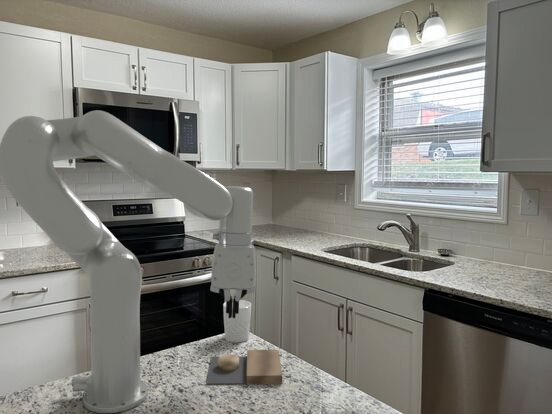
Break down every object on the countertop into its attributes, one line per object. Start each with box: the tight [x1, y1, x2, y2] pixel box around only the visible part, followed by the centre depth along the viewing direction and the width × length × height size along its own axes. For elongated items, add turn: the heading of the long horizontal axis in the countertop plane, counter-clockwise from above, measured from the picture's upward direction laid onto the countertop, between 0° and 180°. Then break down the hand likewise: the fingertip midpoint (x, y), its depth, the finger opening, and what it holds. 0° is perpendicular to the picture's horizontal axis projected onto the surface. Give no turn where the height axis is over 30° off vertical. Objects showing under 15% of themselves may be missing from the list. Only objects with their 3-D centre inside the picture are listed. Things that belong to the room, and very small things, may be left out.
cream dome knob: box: [218, 354, 239, 372], centre depth 104 cm, size 5×5×2 cm
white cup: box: [222, 299, 252, 343], centre depth 122 cm, size 8×8×10 cm
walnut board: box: [246, 349, 283, 385], centre depth 103 cm, size 8×14×2 cm, turn 3°
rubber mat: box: [205, 355, 248, 386], centre depth 103 cm, size 9×14×1 cm, turn 3°
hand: (232, 316), depth 102 cm, fingers closed
